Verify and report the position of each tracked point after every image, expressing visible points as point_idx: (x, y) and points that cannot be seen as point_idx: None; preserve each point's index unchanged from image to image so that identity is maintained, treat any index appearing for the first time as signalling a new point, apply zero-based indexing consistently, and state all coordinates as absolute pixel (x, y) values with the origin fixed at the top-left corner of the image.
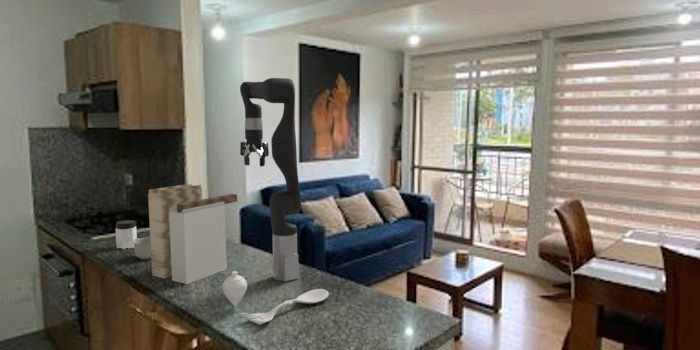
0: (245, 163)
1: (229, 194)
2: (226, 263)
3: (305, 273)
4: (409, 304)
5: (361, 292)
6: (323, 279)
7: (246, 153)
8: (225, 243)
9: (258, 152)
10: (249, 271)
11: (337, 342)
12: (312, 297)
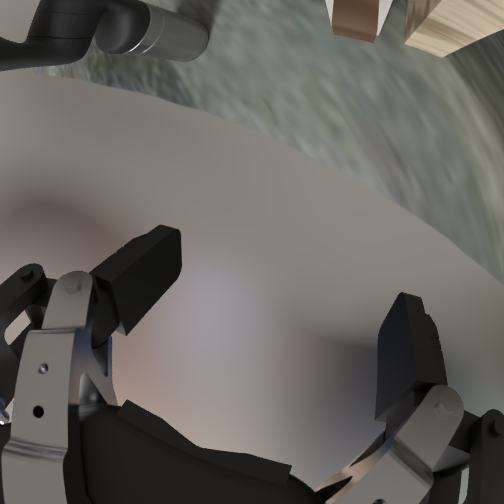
0: (416, 307)
1: (373, 11)
2: (330, 21)
3: (167, 76)
4: (52, 73)
5: (85, 65)
6: (133, 70)
7: (401, 442)
8: (326, 2)
9: (44, 328)
10: (272, 31)
11: None
12: None
